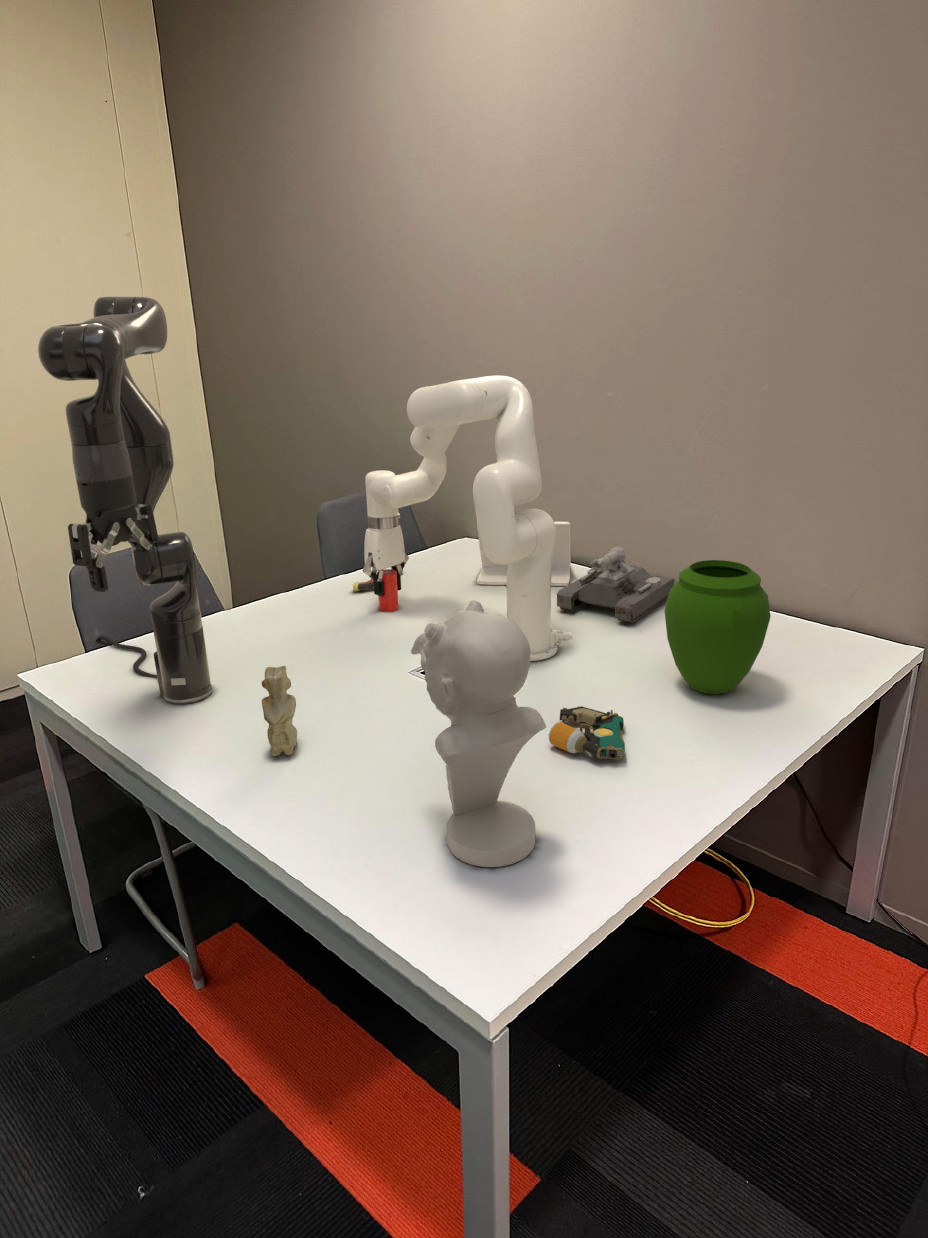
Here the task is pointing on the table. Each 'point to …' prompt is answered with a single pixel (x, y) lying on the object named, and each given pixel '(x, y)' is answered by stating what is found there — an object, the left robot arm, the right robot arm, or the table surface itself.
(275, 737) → the sculpture
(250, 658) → the table surface
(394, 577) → the canister
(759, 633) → the vase
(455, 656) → the bust sculpture
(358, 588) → the toy gun
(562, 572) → the tablet stand
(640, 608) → the toy
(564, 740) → the spray gun
